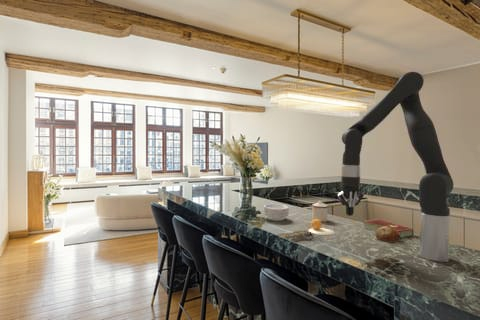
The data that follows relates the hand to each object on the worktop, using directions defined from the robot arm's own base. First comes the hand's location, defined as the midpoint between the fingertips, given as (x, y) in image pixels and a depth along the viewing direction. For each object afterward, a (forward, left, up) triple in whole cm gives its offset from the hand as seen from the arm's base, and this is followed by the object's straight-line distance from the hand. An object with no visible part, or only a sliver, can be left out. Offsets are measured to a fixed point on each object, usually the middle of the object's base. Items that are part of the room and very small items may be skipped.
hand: (349, 215), depth 122 cm
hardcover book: (-10, -38, -14) cm, 41 cm away
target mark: (+17, -15, -14) cm, 26 cm away
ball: (+21, -17, -11) cm, 29 cm away
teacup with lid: (+28, -40, -14) cm, 51 cm away
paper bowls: (+49, -25, -14) cm, 56 cm away
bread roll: (-12, -22, -14) cm, 29 cm away
